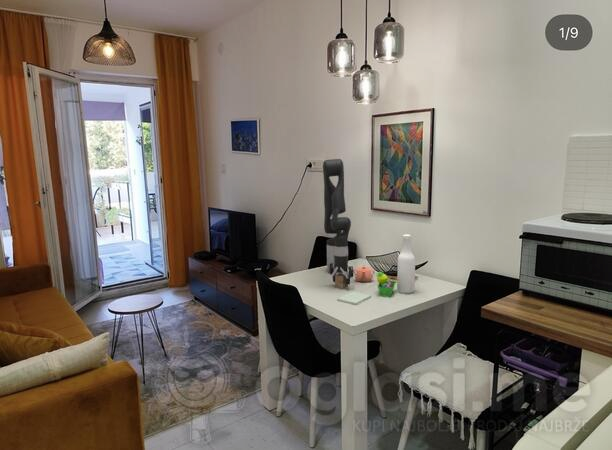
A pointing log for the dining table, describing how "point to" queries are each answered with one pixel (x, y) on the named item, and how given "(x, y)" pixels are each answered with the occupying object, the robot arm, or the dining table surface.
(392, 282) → the fruit basket
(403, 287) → the alcohol
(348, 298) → the sage board
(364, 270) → the teapot
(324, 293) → the dining table surface
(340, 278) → the walnut block
